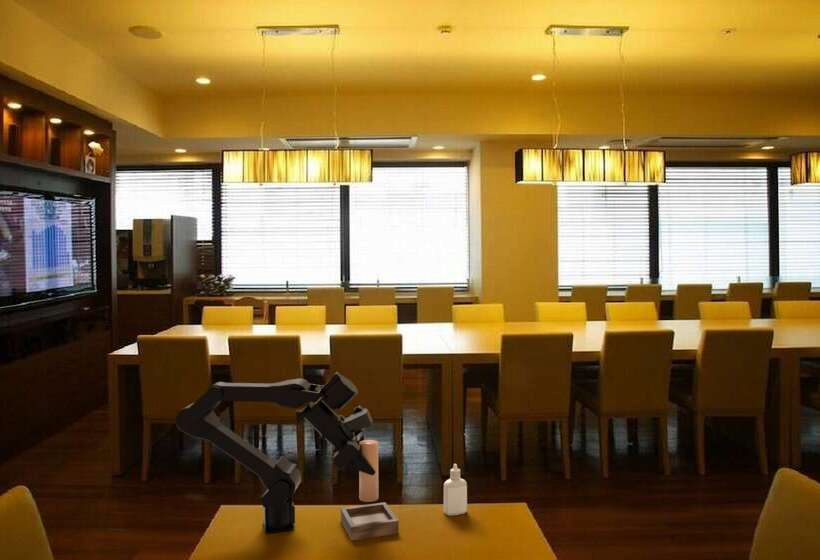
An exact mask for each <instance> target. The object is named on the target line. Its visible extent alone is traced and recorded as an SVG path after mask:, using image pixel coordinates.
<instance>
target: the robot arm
mask: <svg viewBox="0 0 820 560" xmlns="http://www.w3.org/2000/svg"><path fill="white" fill-rule="evenodd" d="M358 393H359V390H358V388H357V387H356V385H355V383H353V382H352V380H351V379H349V378H346V377H345V376H344V375H342V374H340V373H339V371H336V372H335V373H334V374H333V375H332V376H331V378H330V379H329V380H328V381H327V382H326V383H325V384H324V385H321V384H314V383H310V382H308V380H307V379H304V378H302V377H301V378H295V379H294V378H293V379H287V380H282V381H279V382H272V383H258V382H257V383H256V382H254V383H253V382H252V383H251V382H250V383H248V382H224V381H217V382H216V383H214V384H212V385H211V386H209V387H208V390H206V392H205V393H204V394H202V395H201V396H200V397H199V398H198V399H196V401H195V402H192V403H190V404H189V405H186V407H184V408H181V410H179V411H178V413H177V415H176V418H175V421H176V427H177V428H178V429H179V431H181V432H182V433H185V434H187V435H189V436H191V437H193V438H196V439H201V440H205V441H208V442H210V443H211V444H212V445H214V446H215V447H217V448H218V449H220V450H221V451H222V452H224V453H225V454H227V455H228V456H230V457H231V458H232V459H234V460H235V461H237V462H238V463H240V464H241V465H242V466H244V467H245V468H247V469H248V470H249V471H251V472H253V473H254V474H255V475H257V477H259V479H260V481H261V482H262V484H263V486H264V487H265V489H266V490H265V492H264V493H263V495H261V497H260V502H261V505H262V506H263V521H262V524H263V529H264V530H263V531H264V533H265V534H273V533H280V532H286V531H293V530H295V526H294V524H296V506H295V503H294V502H293V500H292V496H293V495H294V494H295V492H296V490H297V488H298V487H299V485H300V483H301V482H302V475H301V471H300V470H299V469H298V467H297V465H298V464H296V463H294V462H291V461H290V460H289V459H287V457H286V456H284V455H281V456H280V458H279V459H274V458H271V457H269V456H268V455H266V454H265V453H264V452H262V451H261V450H259V449H258V448H257V447H255V446H254V445H253V444H251V443H250V442H248V441H247V440H245V439H244V438H243V437H241V436H240V435H238V434H237V433H235V432H234V431H232V430H231V429H230V428H229V427H226V426H225V425H224V424H222V422H221V421H220V419H219V417H218V416H217V414H216V413H215V412H214V410H215V408H216V407H217V406H218V405H219V404H220V403H221V402H247V403H249V402H250V403H252V402H253V403H254V402H255V403H270V404H271V403H272V404H275V405H277V406H280V407H284V408H288V409H289V408H290V409H295V413H294V414H295V424H296V425H299V424H300V423H301V422H302V421H303V420H305V421H306V422H307V423H309V425H311V426H312V428H313V429H315V431H316V432H318V434H319V435H320V437H319V438H320V439H321V440H322V441H324V440H326V441H327V442H328V444H329V445H331V446H332V451H333V452H334V455H333V457H332V465H333V466H334V467H335V468H336V469H337V470H338V471H340V470H341V469H342V468H349V469H351V470H354V471H358V472H359V471H361V472H364V473H367V474H369V475H374V474H375V473H376V471H375V470H374V468H373V467H372V466H371V464H370V463H369V462H368V460H367V459H366V458H365V456H364V455H363V453H362V444H361V445H360V446H359V442H360V441H363V440H366V439H365V438H366V433H364V431H365V429H367V428H370V427H371V426H372V425H373V422H374V420H373V418H372V416H371V414H370V411H369V410H368V408H364V407H362V406H361V405H358V406H356V407H354V409H353V414H350V415H349V416H348V417H345V415H341V414H339V415H338V414H337V413H336V412H335V411H334V410H342V409H343V408H344V407H345V406H346V405H347V404H348V403H349V402H350V401H351V400H352V399H353V398H354V397H356V395H357V394H358ZM317 398H319V399H317ZM316 400H317V401H316ZM315 401H316V402H315ZM306 403H307V405H305V404H306ZM304 405H305V406H304ZM303 406H304V408H302V407H303ZM300 408H302V409H300ZM296 409H297V410H296ZM360 433H363V434H362V435H360V436H359V434H360Z"/></svg>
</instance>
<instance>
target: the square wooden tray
mask: <svg viewBox="0 0 820 560" xmlns="http://www.w3.org/2000/svg"><path fill="white" fill-rule="evenodd" d="M393 512H394V511H392V510H391V508H390V507H389V506H388V504H387V503H386V502H384V501H383V502H377V503H371V504H370V503H369V504H364V505H363V504H362V505H355V506H347V507H340V521H341V523H342V526H343V527H344V530H345V531H346V533H347V535H348V538H349V539H350V541H358V540H365V539H371V538H378V537H379V538H380V537H384V536H391V535H398V534H399V532H400V531H399V529H400V528H399V527H400V526H399V522H400V521H399V519H398V517H397V516H396V515H395V514H394V513H393Z"/></svg>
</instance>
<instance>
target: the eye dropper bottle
mask: <svg viewBox="0 0 820 560" xmlns="http://www.w3.org/2000/svg"><path fill="white" fill-rule="evenodd" d="M449 474H450V475H449V477H450V478H448V479H446V481H445V482H444V483H443V513H444V514H445V515H446V516H449V517H450V516H454V515H455V516H459V515H460V514H461V515H463V514H466V513H467V512H468V490H467V489H468V483H467V481H466V479H463V478H461V469H460V468H458V465H457V463H453V466H452V468H451V469H449ZM461 515H460V516H461Z"/></svg>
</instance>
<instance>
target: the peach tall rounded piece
mask: <svg viewBox="0 0 820 560" xmlns="http://www.w3.org/2000/svg"><path fill="white" fill-rule="evenodd" d="M361 444H362V453H363V455H364V456H365V458H366V459H367V460H368V462H369V463H370V464H371V466H372V467H373V468H374V470H375V471H376V473H375V474H374V475H369V474H367V473H364V472H361V471H358V475H359V476H358V477H359V478H358V479H359V483H358V484H359V487H358V488H359V489H358V491H359V492H358V498H359V500H360V501H361V502H366V503H369V502H370V503H373V502H376V501H378V499H379V441H377V440H374V439H365V440H363V441H360V442H359V446H360V445H361Z"/></svg>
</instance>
